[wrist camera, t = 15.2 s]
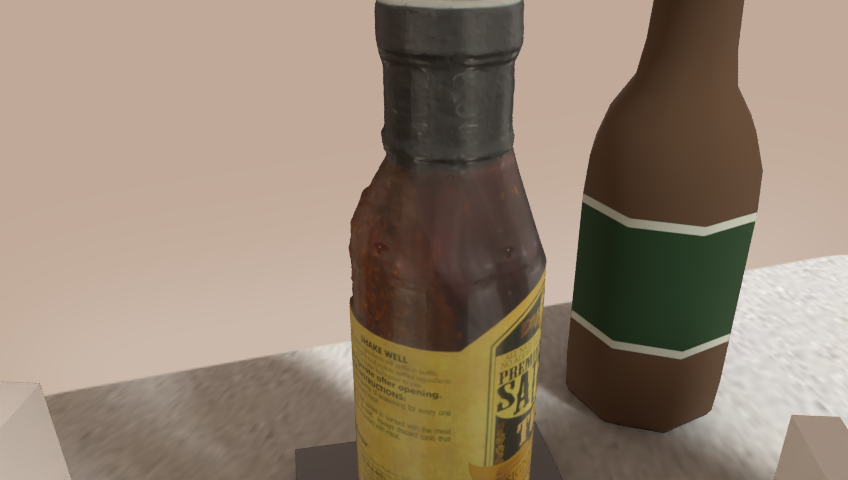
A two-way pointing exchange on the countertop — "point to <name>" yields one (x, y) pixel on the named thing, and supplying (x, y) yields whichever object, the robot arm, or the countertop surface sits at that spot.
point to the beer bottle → (666, 225)
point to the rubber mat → (338, 464)
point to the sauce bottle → (446, 254)
